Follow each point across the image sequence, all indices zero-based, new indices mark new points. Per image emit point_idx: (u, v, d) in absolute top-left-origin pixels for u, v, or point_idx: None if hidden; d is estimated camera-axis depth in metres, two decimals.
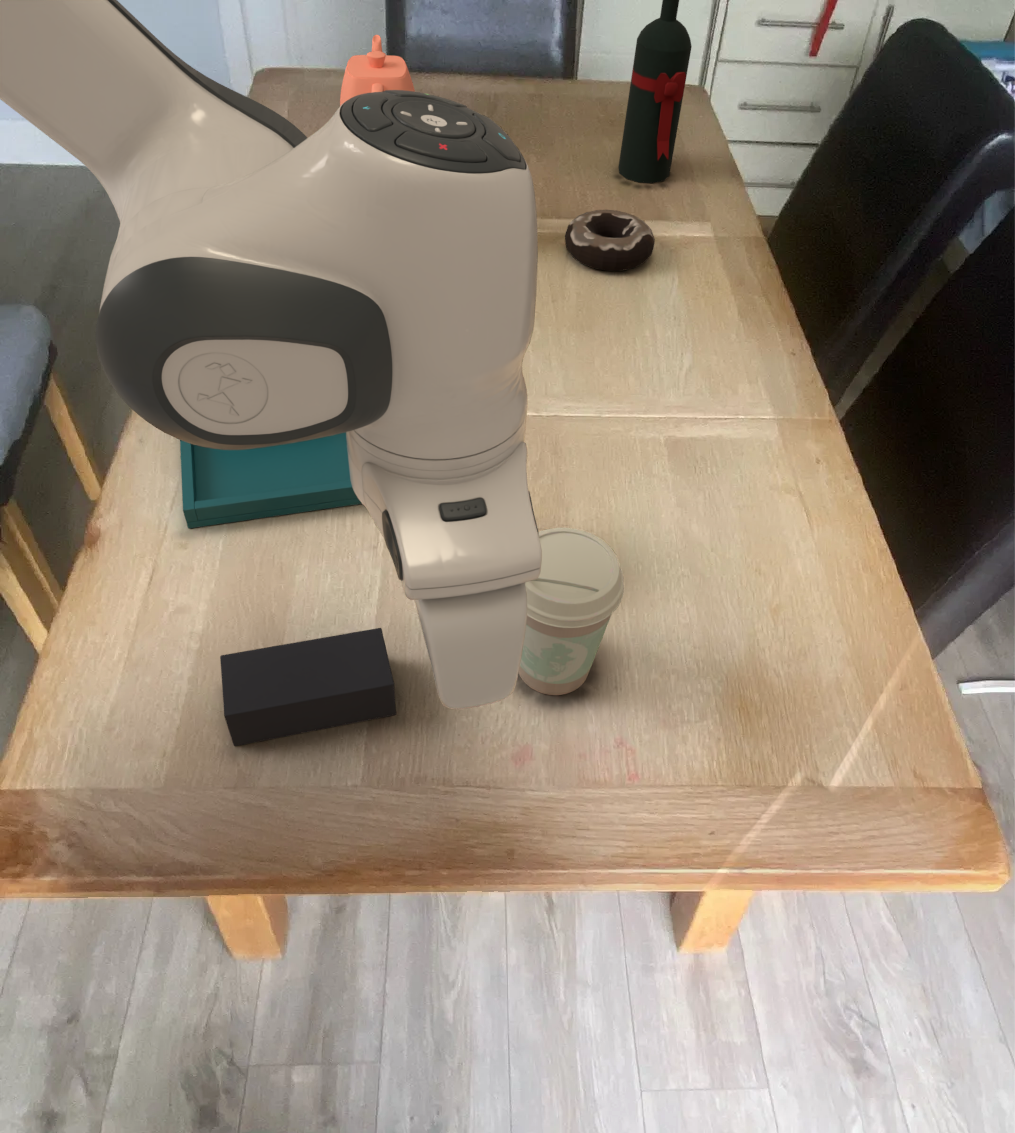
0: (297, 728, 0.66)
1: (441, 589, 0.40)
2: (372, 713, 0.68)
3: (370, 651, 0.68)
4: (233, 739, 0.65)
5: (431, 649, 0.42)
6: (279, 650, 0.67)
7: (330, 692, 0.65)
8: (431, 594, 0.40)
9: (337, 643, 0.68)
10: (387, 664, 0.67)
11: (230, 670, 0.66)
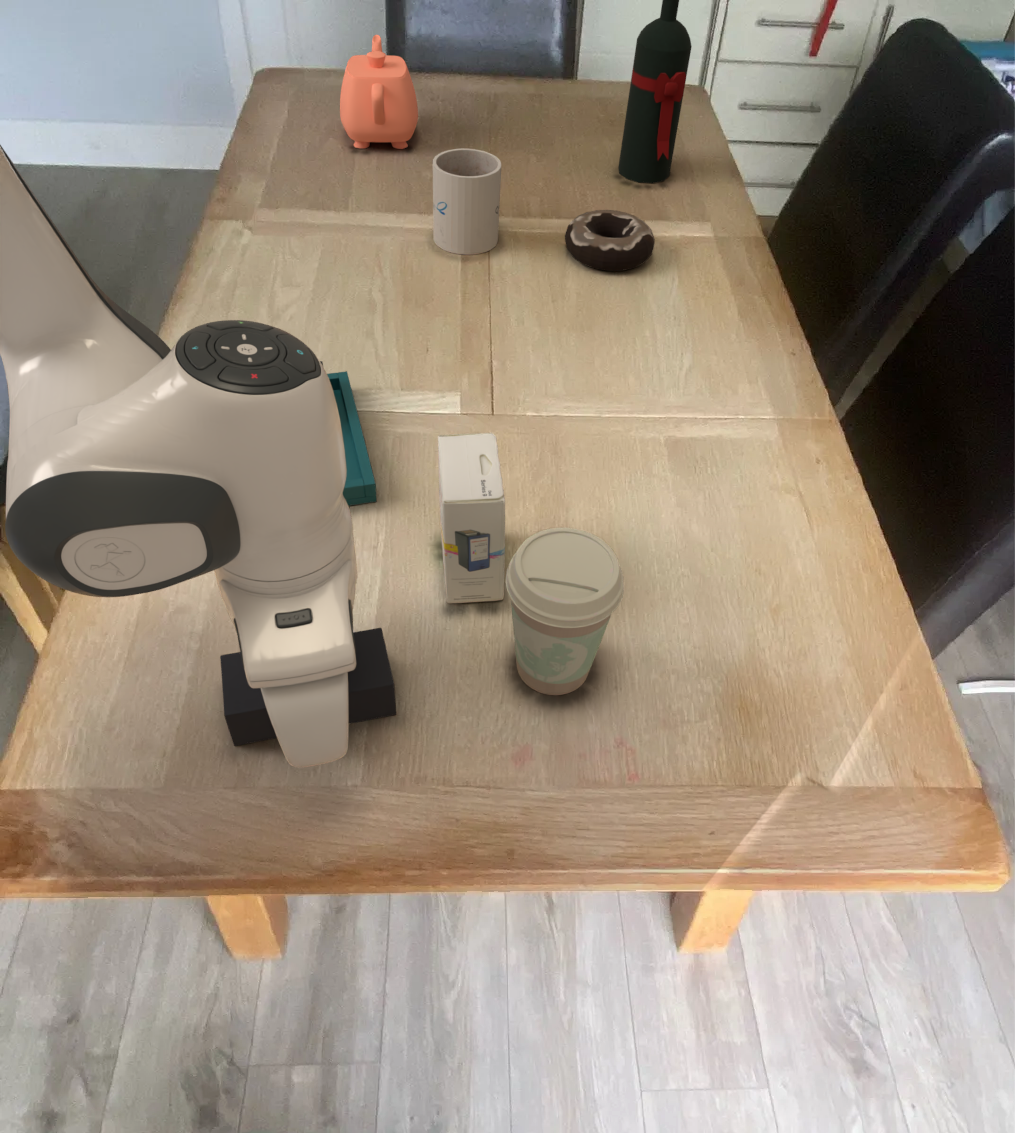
0: None
1: (274, 681, 0.52)
2: (372, 712, 0.68)
3: (370, 650, 0.68)
4: (233, 739, 0.65)
5: (272, 724, 0.54)
6: None
7: None
8: (267, 684, 0.52)
9: None
10: (387, 664, 0.67)
11: (230, 670, 0.66)
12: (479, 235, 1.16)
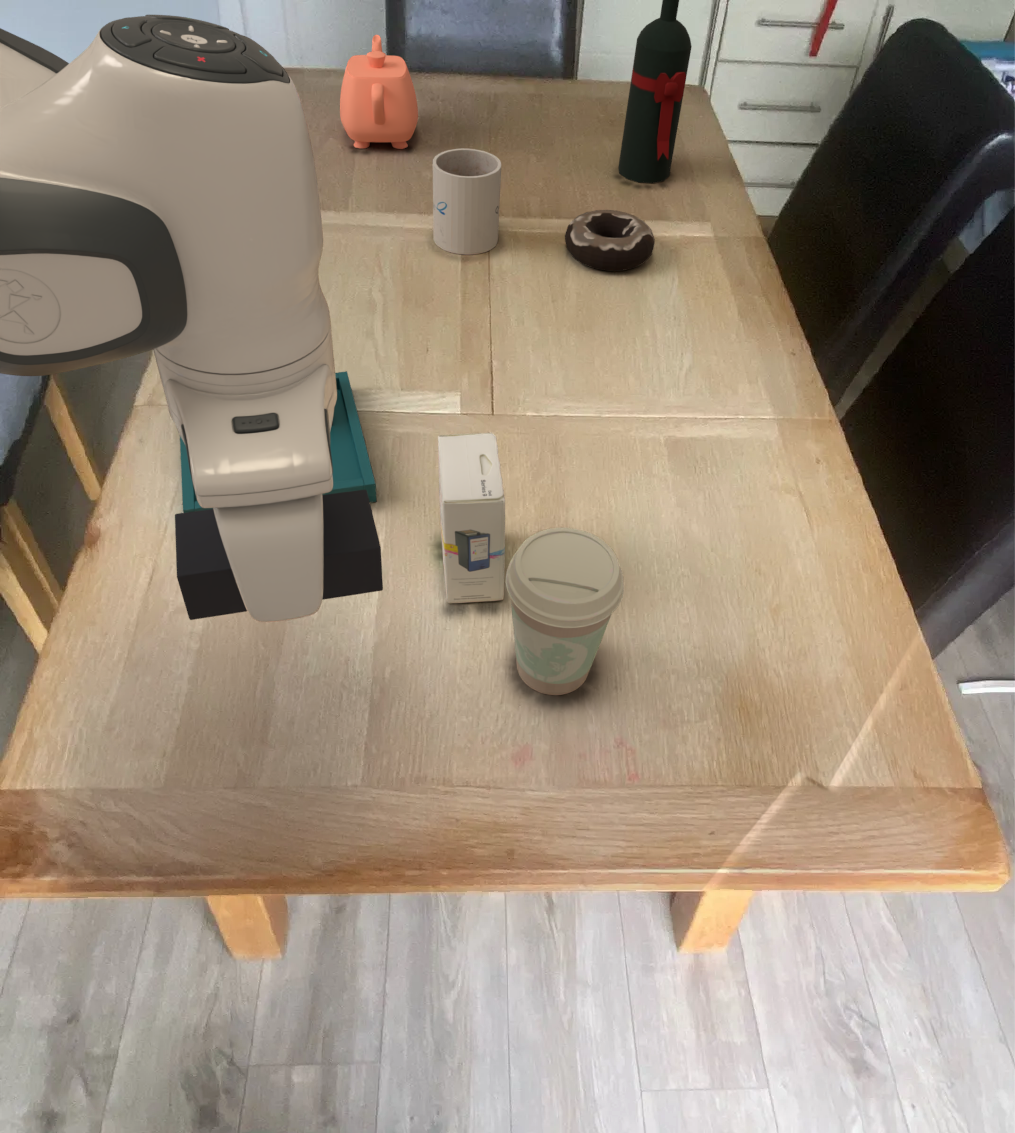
0: None
1: (230, 497, 0.42)
2: (354, 585, 0.57)
3: (353, 512, 0.57)
4: (188, 610, 0.55)
5: (228, 558, 0.44)
6: None
7: None
8: (221, 502, 0.42)
9: None
10: (373, 527, 0.57)
11: (186, 529, 0.55)
12: (479, 235, 1.16)
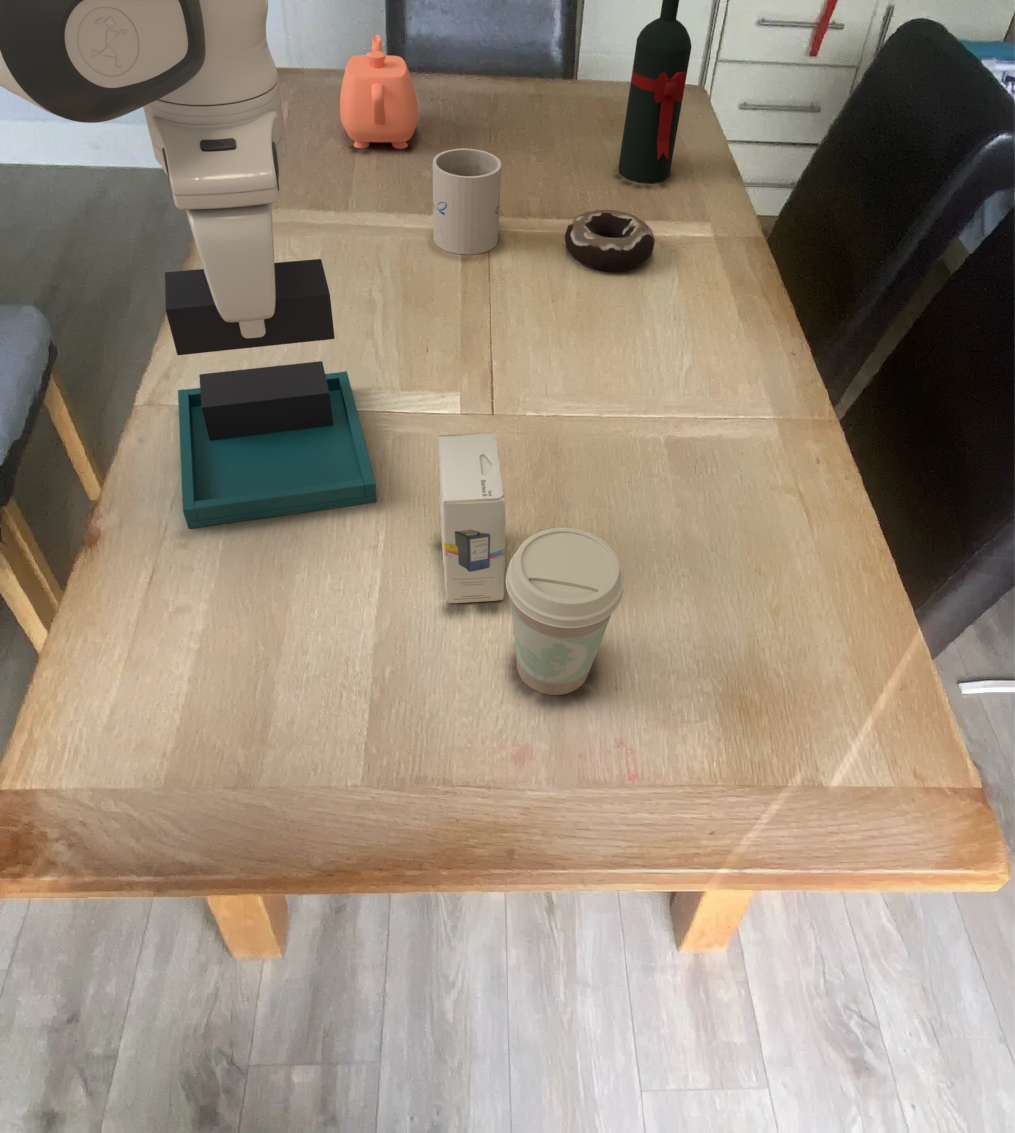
0: (237, 341, 0.70)
1: (198, 197, 0.55)
2: (310, 331, 0.71)
3: (309, 272, 0.71)
4: (176, 345, 0.69)
5: (199, 253, 0.57)
6: None
7: None
8: (192, 201, 0.55)
9: (277, 267, 0.71)
10: (324, 281, 0.70)
11: (173, 281, 0.69)
12: (479, 235, 1.16)
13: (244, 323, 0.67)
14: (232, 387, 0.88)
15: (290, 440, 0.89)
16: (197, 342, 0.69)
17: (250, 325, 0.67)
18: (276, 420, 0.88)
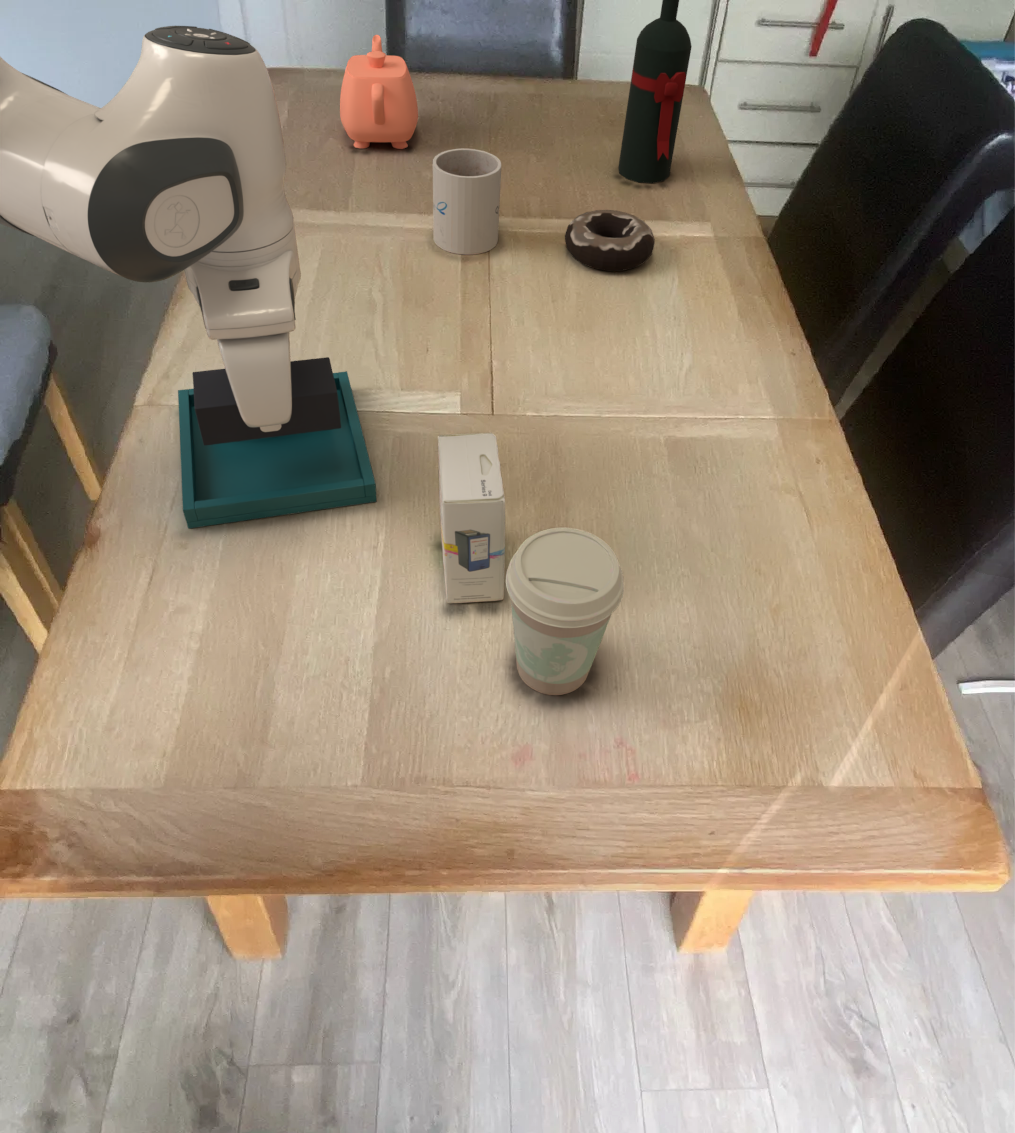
0: (256, 432, 0.80)
1: (228, 330, 0.65)
2: (320, 423, 0.81)
3: (319, 371, 0.81)
4: (203, 437, 0.78)
5: (228, 375, 0.67)
6: None
7: None
8: (222, 334, 0.65)
9: (291, 366, 0.81)
10: (332, 380, 0.80)
11: (200, 381, 0.79)
12: (479, 235, 1.16)
13: None
14: None
15: (290, 440, 0.89)
16: (221, 434, 0.79)
17: None
18: None
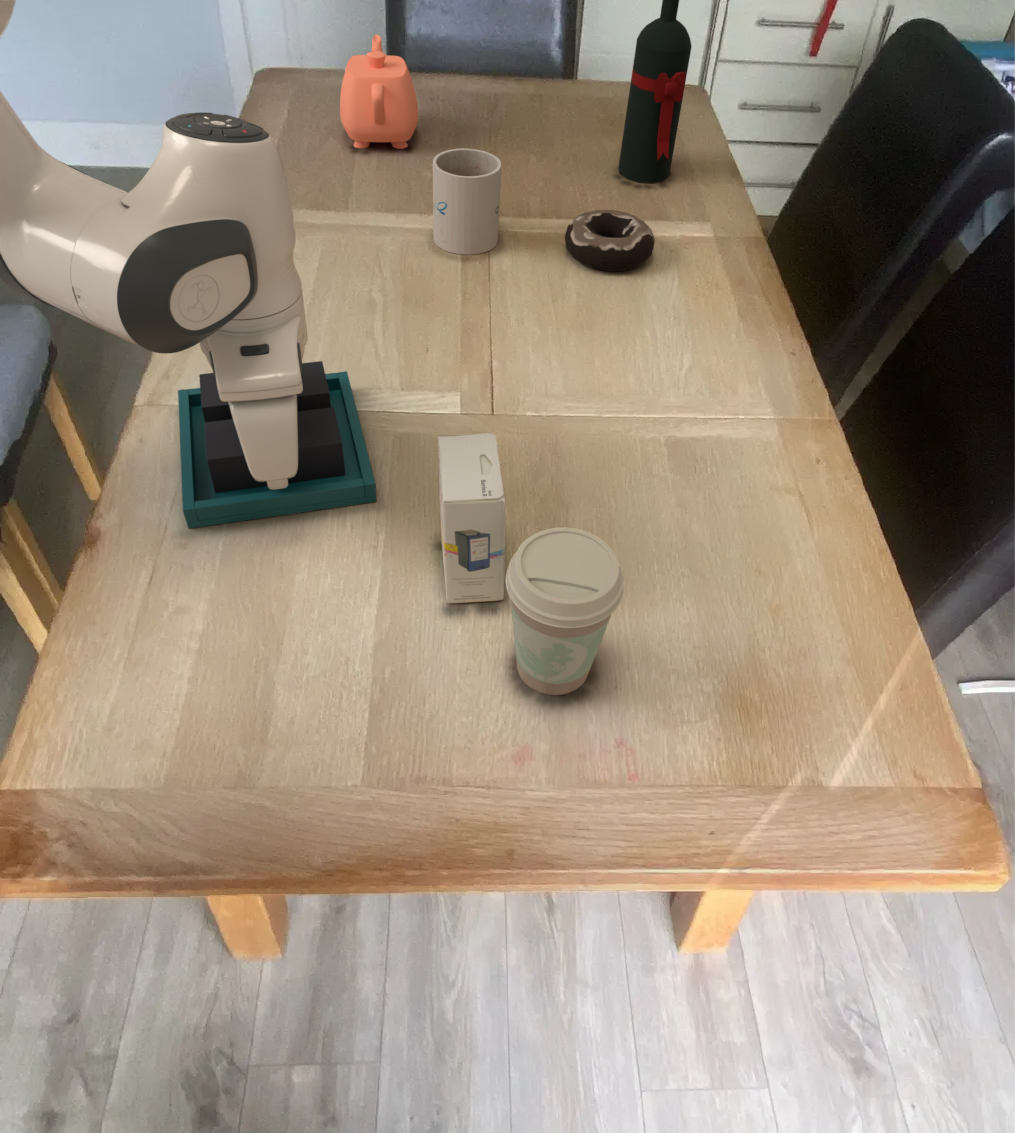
0: None
1: (239, 393, 0.69)
2: (325, 470, 0.85)
3: (324, 421, 0.85)
4: (214, 485, 0.82)
5: (238, 434, 0.71)
6: None
7: None
8: (233, 397, 0.69)
9: (298, 416, 0.85)
10: (337, 430, 0.84)
11: (212, 432, 0.83)
12: (479, 235, 1.16)
13: None
14: None
15: None
16: (231, 482, 0.83)
17: (275, 480, 0.80)
18: None
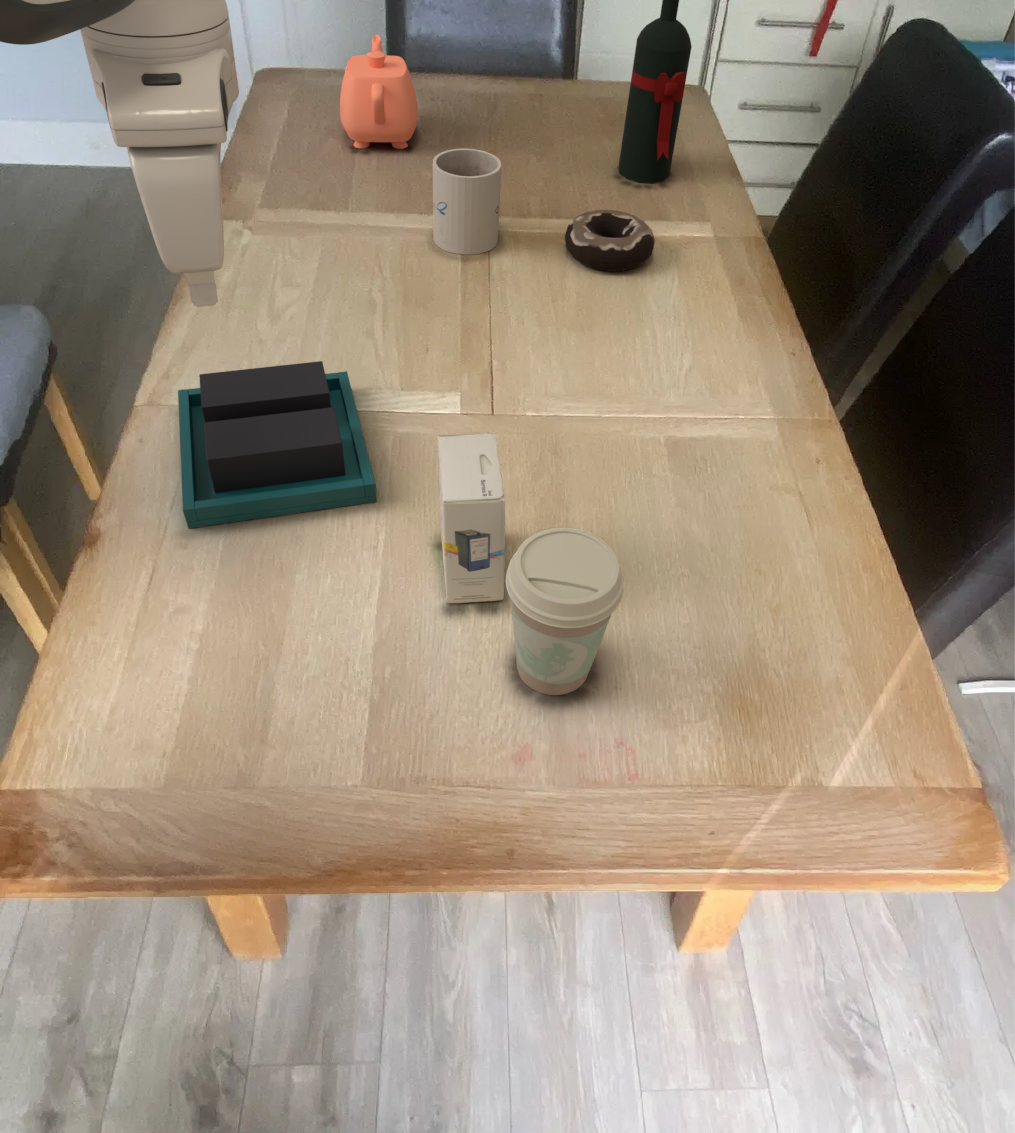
0: (265, 480, 0.84)
1: (139, 133, 0.52)
2: (325, 470, 0.85)
3: (324, 421, 0.85)
4: (214, 485, 0.82)
5: (140, 195, 0.54)
6: (251, 420, 0.84)
7: (291, 447, 0.82)
8: (132, 138, 0.52)
9: (298, 416, 0.85)
10: (337, 430, 0.84)
11: (212, 432, 0.83)
12: (479, 235, 1.16)
13: (194, 290, 0.63)
14: (232, 387, 0.88)
15: None
16: (231, 482, 0.83)
17: (201, 292, 0.63)
18: None
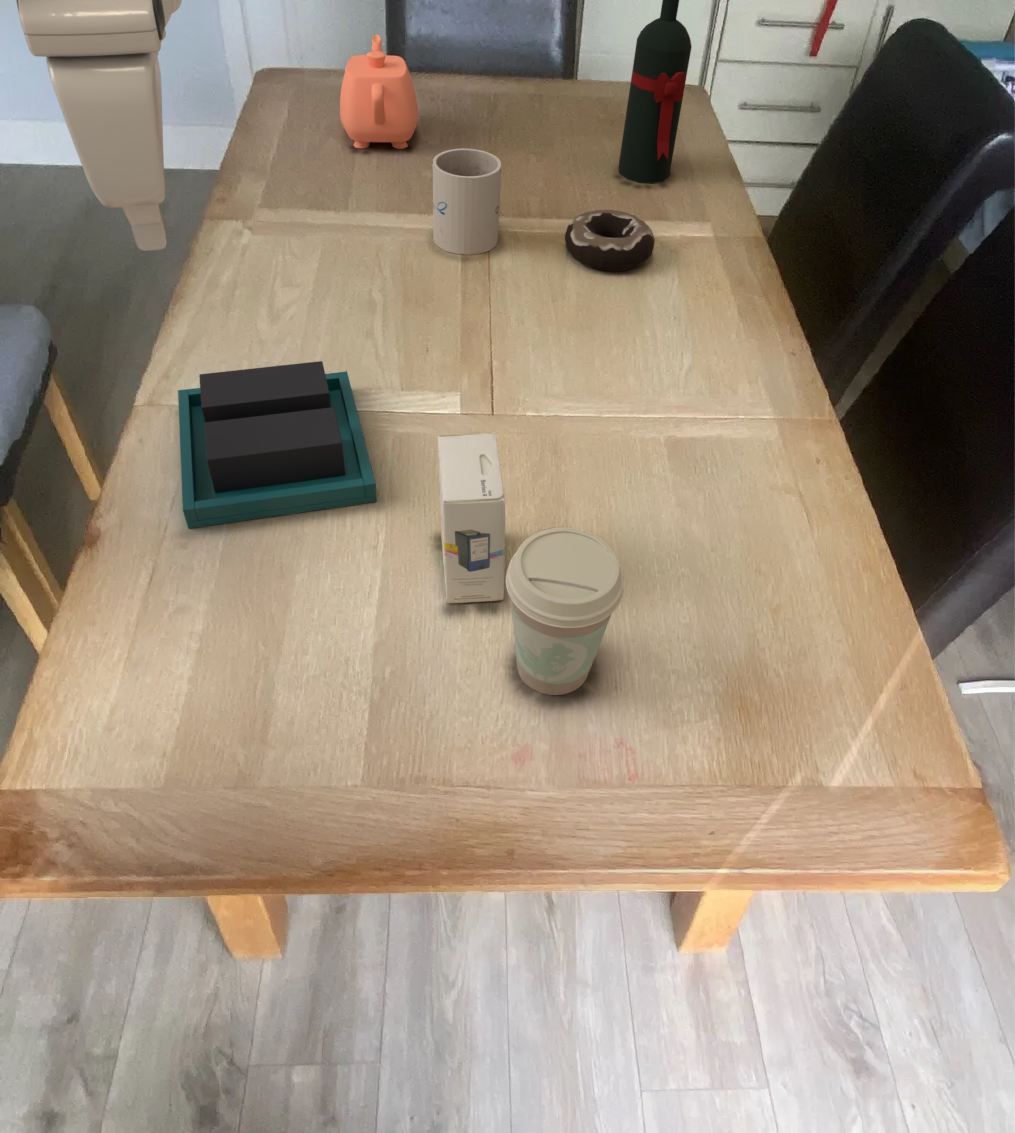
0: (265, 480, 0.84)
1: (56, 38, 0.45)
2: (325, 470, 0.85)
3: (324, 421, 0.85)
4: (214, 485, 0.82)
5: (63, 113, 0.47)
6: (251, 420, 0.84)
7: (291, 447, 0.82)
8: (49, 44, 0.45)
9: (298, 416, 0.85)
10: (337, 430, 0.84)
11: (212, 432, 0.83)
12: (479, 235, 1.16)
13: (139, 231, 0.56)
14: (232, 387, 0.88)
15: None
16: (231, 482, 0.83)
17: (146, 234, 0.56)
18: None
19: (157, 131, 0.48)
